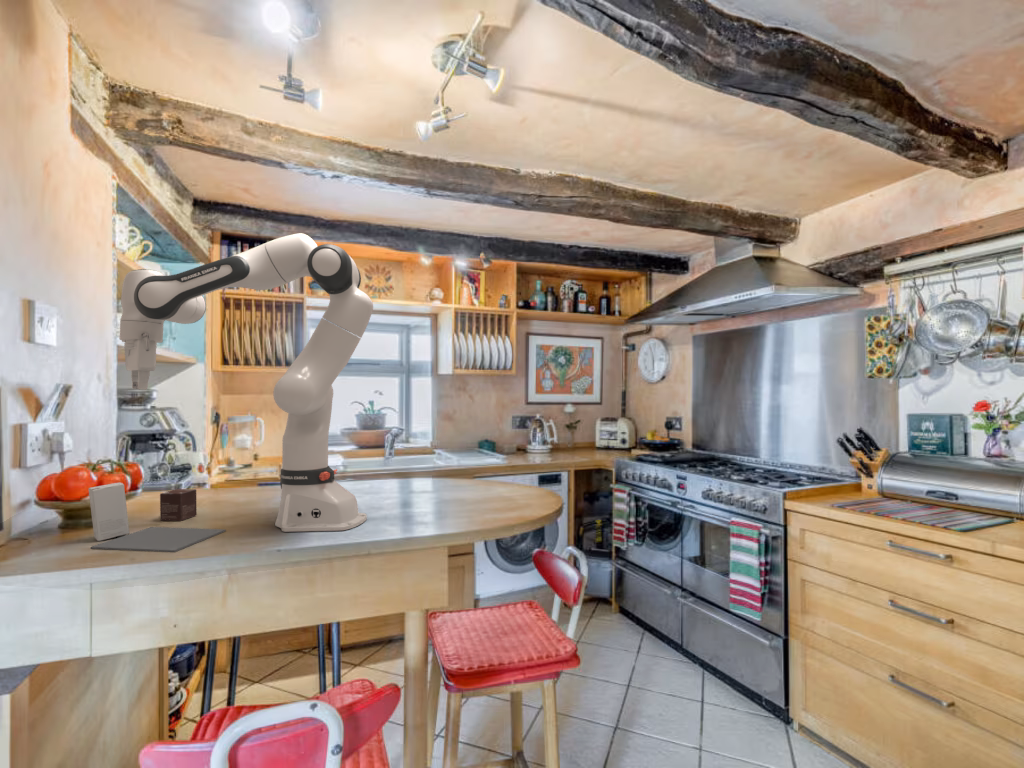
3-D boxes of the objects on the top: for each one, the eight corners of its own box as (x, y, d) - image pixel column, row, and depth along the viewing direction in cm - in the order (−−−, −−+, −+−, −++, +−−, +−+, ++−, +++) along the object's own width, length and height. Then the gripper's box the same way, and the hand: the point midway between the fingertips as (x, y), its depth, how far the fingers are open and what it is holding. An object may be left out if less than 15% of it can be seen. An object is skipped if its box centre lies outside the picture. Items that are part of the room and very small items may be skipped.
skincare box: (125, 530, 122) (120, 481, 122) (130, 534, 119) (125, 483, 119) (92, 538, 117) (87, 487, 117) (97, 542, 115) (92, 489, 114)
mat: (225, 531, 124) (225, 529, 124) (174, 552, 108) (174, 550, 108) (151, 528, 126) (151, 526, 126) (90, 548, 110) (90, 546, 110)
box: (197, 515, 139) (197, 489, 139) (180, 521, 133) (180, 493, 133) (176, 515, 139) (176, 488, 139) (159, 521, 133) (159, 493, 133)
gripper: (164, 333, 122) (162, 390, 122) (150, 337, 137) (147, 388, 137) (132, 330, 118) (129, 389, 118) (120, 335, 133) (118, 388, 133)
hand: (139, 389), depth 128 cm, fingers open, 8 cm apart
